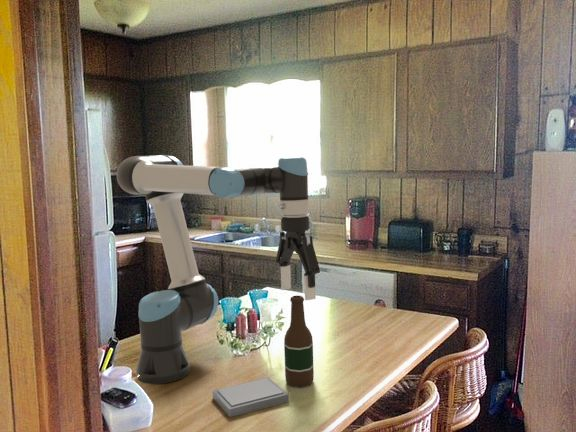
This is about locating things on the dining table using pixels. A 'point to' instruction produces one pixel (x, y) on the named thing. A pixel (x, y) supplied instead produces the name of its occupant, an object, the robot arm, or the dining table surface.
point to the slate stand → (250, 396)
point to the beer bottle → (298, 347)
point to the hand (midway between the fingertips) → (297, 294)
